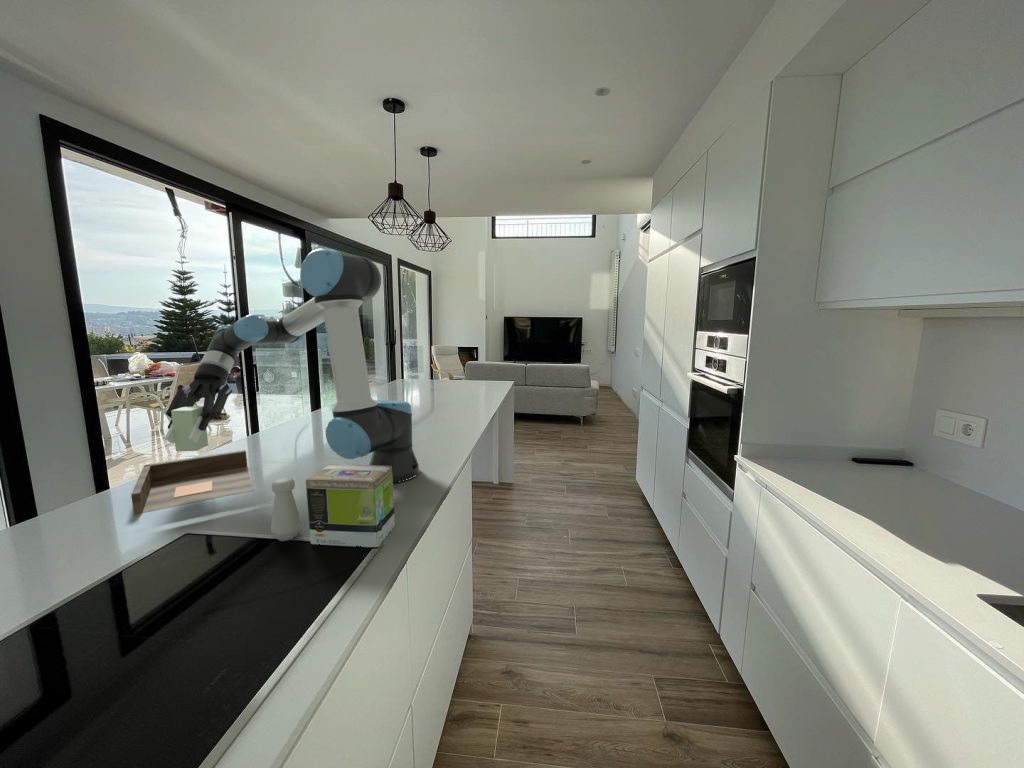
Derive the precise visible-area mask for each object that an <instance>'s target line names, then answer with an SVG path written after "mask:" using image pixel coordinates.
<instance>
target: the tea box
mask: <svg viewBox="0 0 1024 768" xmlns="http://www.w3.org/2000/svg"><path fill="white" fill-rule="evenodd" d="M305 487H306V488H305V489H306V503H307V514H308V527H309V528H308V529H309V535H310V536H309V538H310V544H311V545H319V544H320V545H322V546H337V547H339V546H340V547H341V546H342V547H356V546H359V547H360V546H361V547H360V548H372V547H378V548H379V547H380V546H381V544H382V543H383V542H384V541H385V539H386V538H387V537H388V536H389V534H390V533H391V532H392V530H393V529H394V528H393V527H395V523H396V522H395V499H394V498H395V497H394V496H395V495H394V483H393V475H392V466H377V465H369V464H367V465H366V464H365V465H364V464H333V463H332V464H329V465H326V467H324V468H322V469H320V470H319V471H318V472H317V471H316V472H315V473H314V474H313V475H311V476H309V477H307V478H306V479H305ZM392 528H393V529H392ZM390 531H391V532H390ZM389 532H390V533H389ZM388 533H389V534H388ZM386 536H387V537H386ZM383 540H384V541H383ZM382 541H383V542H382Z"/></svg>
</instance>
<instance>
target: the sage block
mask: <svg viewBox="0 0 1024 768" xmlns="http://www.w3.org/2000/svg"><path fill="white" fill-rule="evenodd" d="M203 406H204V405H202V406H193V407H181V408H178V409H175V410H172V411H171V414H172V423H173V431H174V439H175V442H174V448H175V452H197V451H199V450H201V449H204V448H206V447H207V446H209V438H208V431H207V428H206V430H205V431H202V433H201V436H200V438H199V440H198V442H197V443H194V442H192V441H191V440H190V439H189V436H190V433H191V431H192V429H193V427H194V425H195V423H196V421H197V419H198V417H200V416H201V417H202V418H203V416H202V415H201V414H202V413H203Z"/></svg>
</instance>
